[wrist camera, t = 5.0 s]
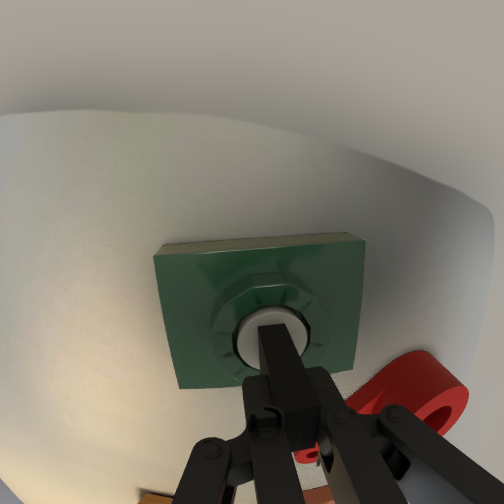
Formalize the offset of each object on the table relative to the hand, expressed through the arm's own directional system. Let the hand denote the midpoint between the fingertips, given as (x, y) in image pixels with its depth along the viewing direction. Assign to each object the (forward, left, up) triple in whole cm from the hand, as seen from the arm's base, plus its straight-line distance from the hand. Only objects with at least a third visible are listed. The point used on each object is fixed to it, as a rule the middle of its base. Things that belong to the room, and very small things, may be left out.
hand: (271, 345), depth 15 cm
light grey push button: (0, 0, -2) cm, 2 cm away
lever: (-11, +14, -6) cm, 19 cm away
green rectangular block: (0, 0, -6) cm, 6 cm away
